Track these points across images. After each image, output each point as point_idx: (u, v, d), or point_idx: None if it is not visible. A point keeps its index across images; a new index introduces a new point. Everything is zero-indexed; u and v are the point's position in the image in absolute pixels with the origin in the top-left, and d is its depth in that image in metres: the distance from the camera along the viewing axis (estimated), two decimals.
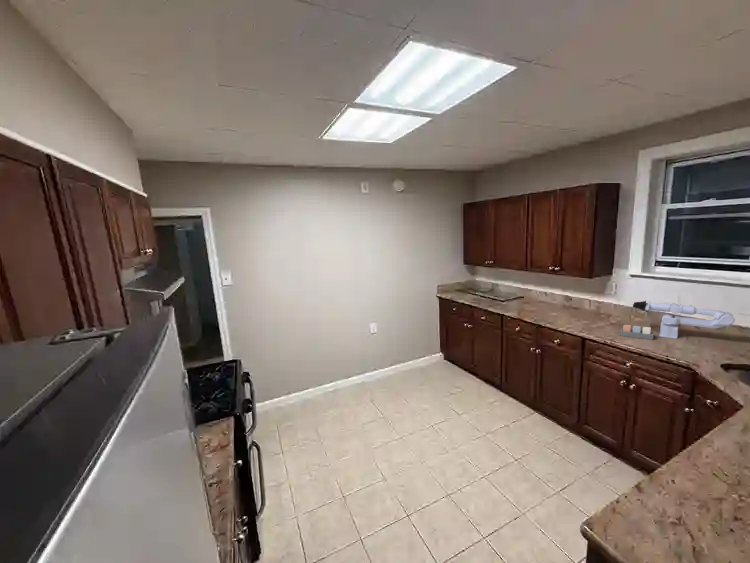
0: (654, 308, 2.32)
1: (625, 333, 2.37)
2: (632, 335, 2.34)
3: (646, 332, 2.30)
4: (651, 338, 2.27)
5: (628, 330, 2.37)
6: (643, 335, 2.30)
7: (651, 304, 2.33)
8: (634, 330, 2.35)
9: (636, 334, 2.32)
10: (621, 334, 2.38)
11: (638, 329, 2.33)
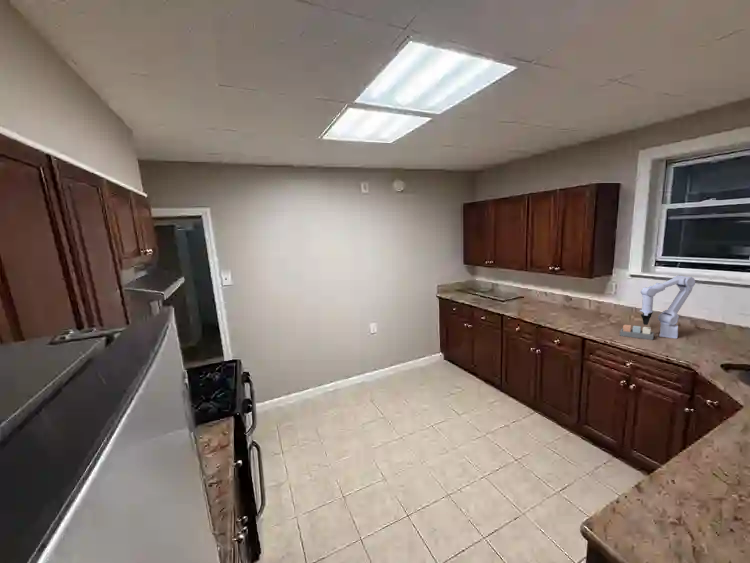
0: (648, 307, 2.27)
1: (625, 333, 2.37)
2: (632, 335, 2.34)
3: (646, 332, 2.30)
4: (651, 338, 2.27)
5: (628, 330, 2.37)
6: (643, 335, 2.30)
7: (643, 309, 2.29)
8: (634, 330, 2.35)
9: (636, 334, 2.32)
10: (621, 334, 2.38)
11: (638, 329, 2.33)
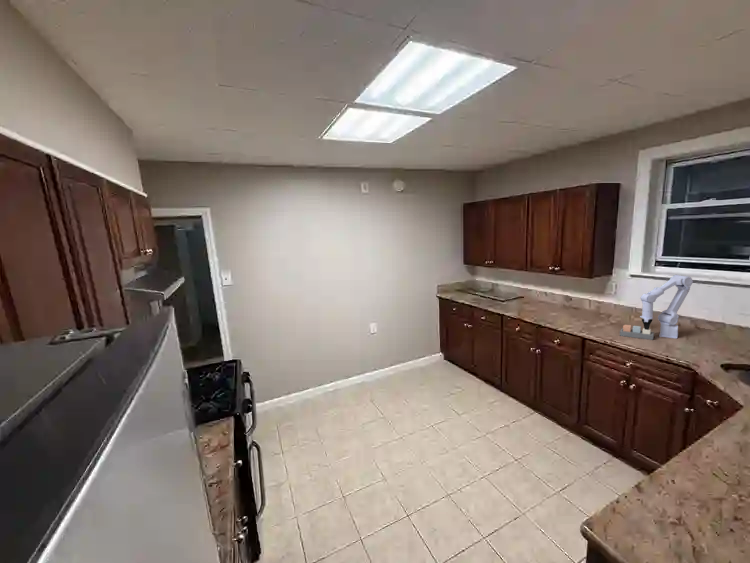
0: (648, 313, 2.27)
1: (625, 333, 2.37)
2: (632, 335, 2.34)
3: (646, 333, 2.30)
4: (651, 338, 2.27)
5: (628, 330, 2.37)
6: (643, 335, 2.30)
7: (643, 315, 2.30)
8: (634, 330, 2.35)
9: (636, 334, 2.32)
10: (621, 334, 2.38)
11: (638, 329, 2.33)
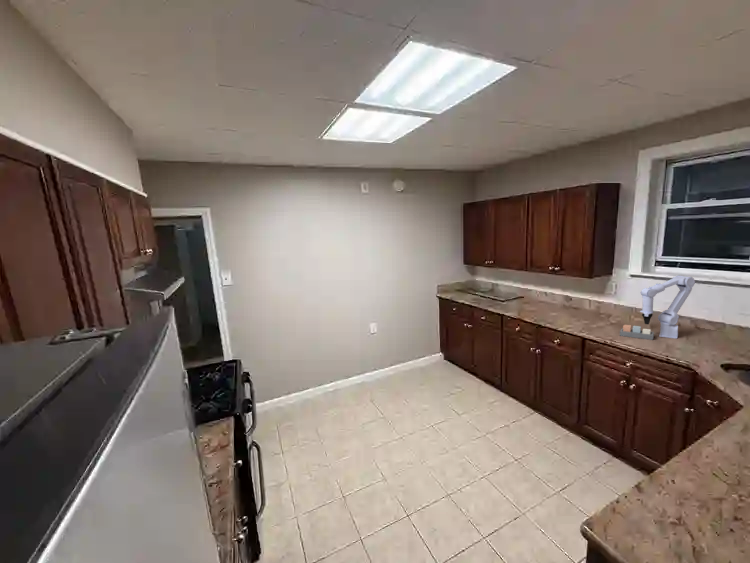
0: (648, 308, 2.27)
1: (625, 333, 2.37)
2: (632, 335, 2.34)
3: None
4: (651, 338, 2.27)
5: (628, 330, 2.37)
6: (643, 335, 2.30)
7: (643, 310, 2.29)
8: (634, 330, 2.35)
9: (636, 334, 2.32)
10: (621, 334, 2.38)
11: (638, 329, 2.33)
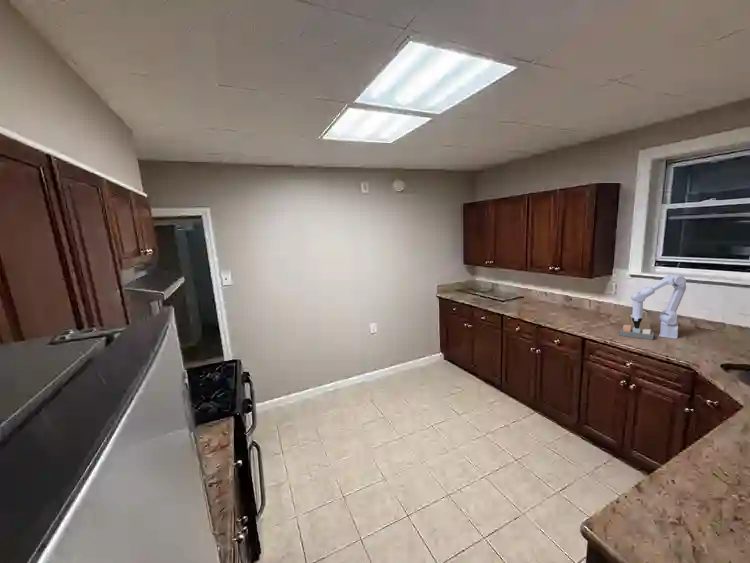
0: (638, 313, 2.31)
1: (625, 333, 2.37)
2: (632, 335, 2.34)
3: None
4: (651, 338, 2.27)
5: (628, 330, 2.37)
6: (643, 335, 2.30)
7: (633, 314, 2.33)
8: (634, 331, 2.35)
9: (636, 334, 2.32)
10: (621, 334, 2.38)
11: (638, 330, 2.33)
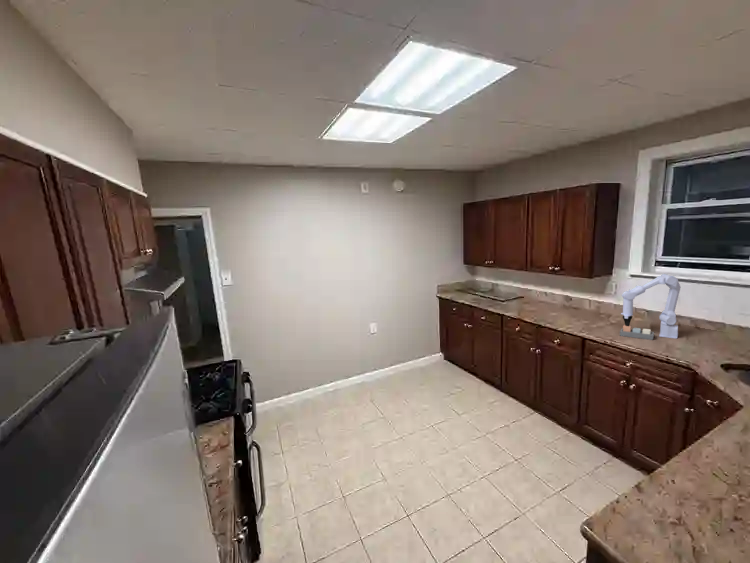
0: (628, 310, 2.35)
1: (625, 333, 2.37)
2: (632, 335, 2.34)
3: None
4: (651, 338, 2.27)
5: (628, 330, 2.37)
6: (643, 335, 2.30)
7: (624, 312, 2.37)
8: None
9: (636, 334, 2.32)
10: (621, 334, 2.38)
11: (638, 331, 2.33)
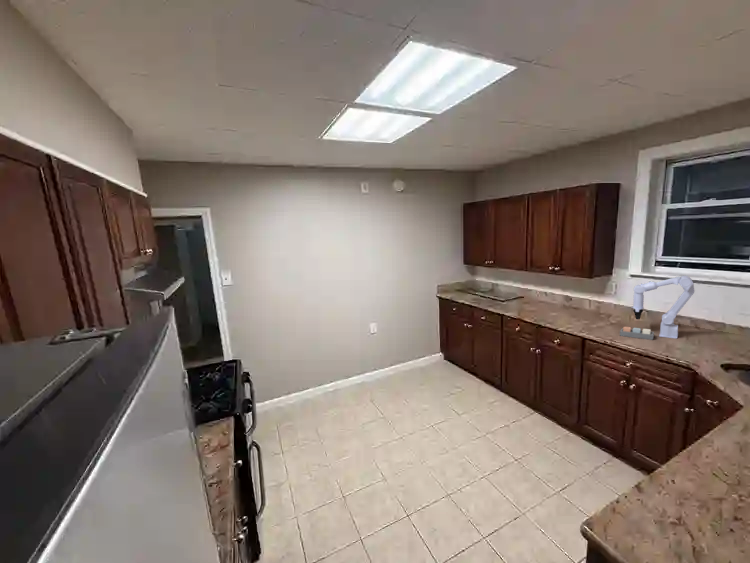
0: (639, 304, 2.37)
1: (625, 333, 2.37)
2: (632, 335, 2.34)
3: None
4: (651, 338, 2.27)
5: None
6: (643, 335, 2.30)
7: (634, 306, 2.39)
8: None
9: (636, 334, 2.32)
10: (621, 334, 2.38)
11: (638, 331, 2.33)
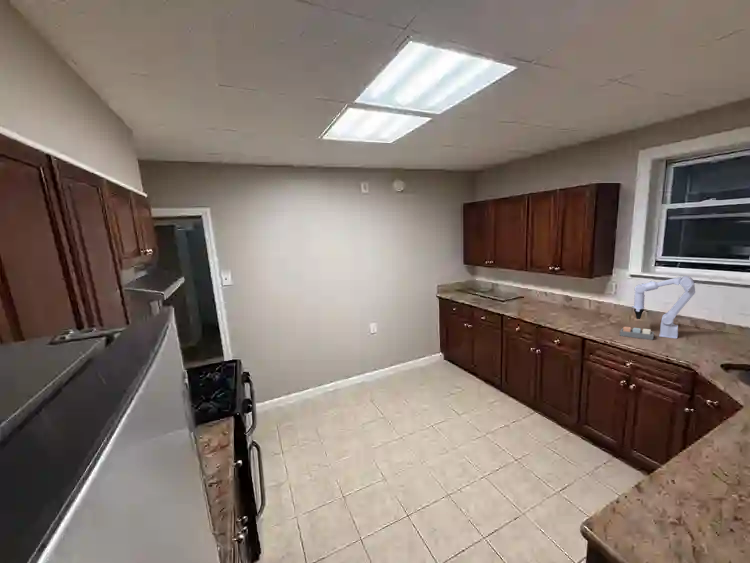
0: (640, 303, 2.37)
1: (625, 333, 2.37)
2: (632, 335, 2.34)
3: None
4: (651, 338, 2.27)
5: None
6: (643, 335, 2.30)
7: (635, 305, 2.40)
8: None
9: (636, 334, 2.32)
10: (621, 334, 2.38)
11: (638, 331, 2.33)
